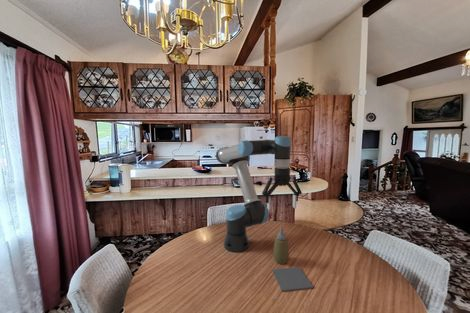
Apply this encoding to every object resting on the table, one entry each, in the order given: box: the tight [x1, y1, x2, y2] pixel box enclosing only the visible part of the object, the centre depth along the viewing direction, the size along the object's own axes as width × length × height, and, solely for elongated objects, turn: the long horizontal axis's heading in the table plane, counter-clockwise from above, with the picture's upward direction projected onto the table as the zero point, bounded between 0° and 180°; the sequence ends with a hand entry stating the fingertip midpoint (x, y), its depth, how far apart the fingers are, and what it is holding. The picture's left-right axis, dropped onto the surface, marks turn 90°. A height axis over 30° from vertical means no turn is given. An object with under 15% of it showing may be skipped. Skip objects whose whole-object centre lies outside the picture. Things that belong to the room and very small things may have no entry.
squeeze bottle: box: [273, 227, 290, 265], centre depth 111 cm, size 8×8×18 cm
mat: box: [271, 266, 314, 292], centre depth 98 cm, size 14×14×1 cm
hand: (281, 208), depth 109 cm, fingers open, 13 cm apart
